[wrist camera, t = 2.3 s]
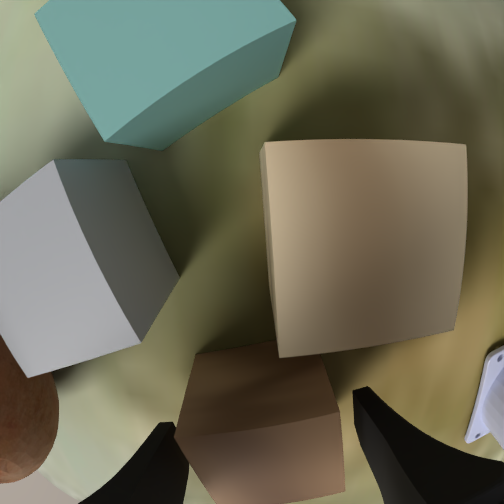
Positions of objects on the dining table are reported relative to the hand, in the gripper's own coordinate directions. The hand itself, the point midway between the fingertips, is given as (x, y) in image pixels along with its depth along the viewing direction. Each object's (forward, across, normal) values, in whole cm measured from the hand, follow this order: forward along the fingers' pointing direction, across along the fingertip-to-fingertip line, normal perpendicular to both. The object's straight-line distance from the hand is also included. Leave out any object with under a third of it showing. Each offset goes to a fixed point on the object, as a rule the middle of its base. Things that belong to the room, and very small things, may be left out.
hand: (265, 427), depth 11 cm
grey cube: (+3, +5, -8) cm, 10 cm away
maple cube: (+3, -4, -7) cm, 9 cm away
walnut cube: (+3, 0, 0) cm, 3 cm away
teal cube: (+3, 0, -14) cm, 14 cm away
